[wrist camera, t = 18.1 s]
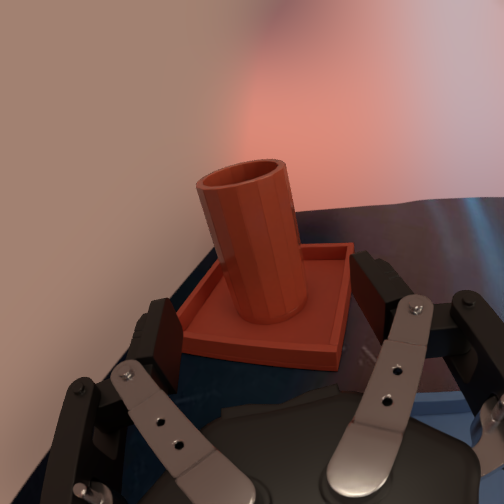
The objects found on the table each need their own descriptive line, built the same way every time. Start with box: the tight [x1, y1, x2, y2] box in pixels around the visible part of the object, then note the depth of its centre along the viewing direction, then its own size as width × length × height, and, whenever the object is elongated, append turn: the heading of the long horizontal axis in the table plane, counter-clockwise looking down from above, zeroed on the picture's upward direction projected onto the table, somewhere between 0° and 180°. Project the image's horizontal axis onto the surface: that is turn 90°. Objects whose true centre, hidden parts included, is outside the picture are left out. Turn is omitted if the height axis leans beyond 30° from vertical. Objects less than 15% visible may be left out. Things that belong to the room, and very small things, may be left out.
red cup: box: [196, 159, 308, 325], centre depth 23 cm, size 6×6×11 cm
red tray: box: [176, 243, 355, 371], centre depth 26 cm, size 13×13×2 cm
